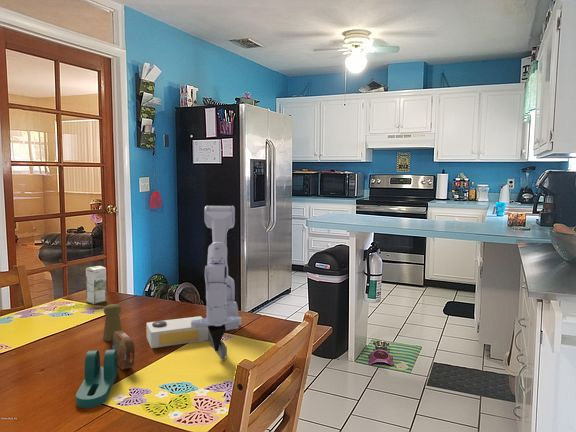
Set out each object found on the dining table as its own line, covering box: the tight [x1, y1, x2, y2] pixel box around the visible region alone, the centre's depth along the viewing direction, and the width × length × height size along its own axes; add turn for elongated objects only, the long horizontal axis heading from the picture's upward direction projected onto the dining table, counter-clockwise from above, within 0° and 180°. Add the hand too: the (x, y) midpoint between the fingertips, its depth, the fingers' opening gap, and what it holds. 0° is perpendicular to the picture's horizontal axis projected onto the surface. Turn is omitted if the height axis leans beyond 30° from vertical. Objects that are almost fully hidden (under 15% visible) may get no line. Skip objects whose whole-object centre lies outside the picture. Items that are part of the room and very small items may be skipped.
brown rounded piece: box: [110, 330, 136, 370], centre depth 129 cm, size 15×3×8 cm, turn 36°
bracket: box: [75, 349, 119, 409], centre depth 114 cm, size 18×7×8 cm, turn 10°
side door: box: [207, 329, 228, 361], centre depth 140 cm, size 17×2×4 cm, turn 24°
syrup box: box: [85, 265, 107, 305], centre depth 189 cm, size 6×6×14 cm
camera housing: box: [146, 315, 208, 349], centre depth 148 cm, size 18×11×6 cm, turn 115°
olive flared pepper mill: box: [103, 303, 123, 342], centre depth 149 cm, size 6×6×11 cm
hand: (216, 350), depth 134 cm, fingers closed
